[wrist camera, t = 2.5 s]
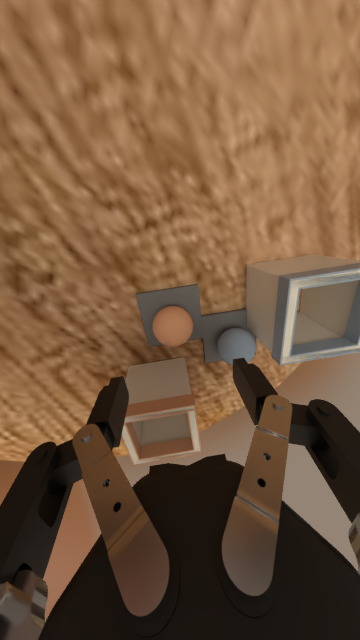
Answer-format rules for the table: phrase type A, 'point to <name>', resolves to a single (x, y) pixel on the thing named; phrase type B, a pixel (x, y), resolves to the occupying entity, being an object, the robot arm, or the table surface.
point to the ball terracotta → (172, 326)
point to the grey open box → (160, 412)
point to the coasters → (202, 325)
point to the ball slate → (236, 345)
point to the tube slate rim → (305, 307)
